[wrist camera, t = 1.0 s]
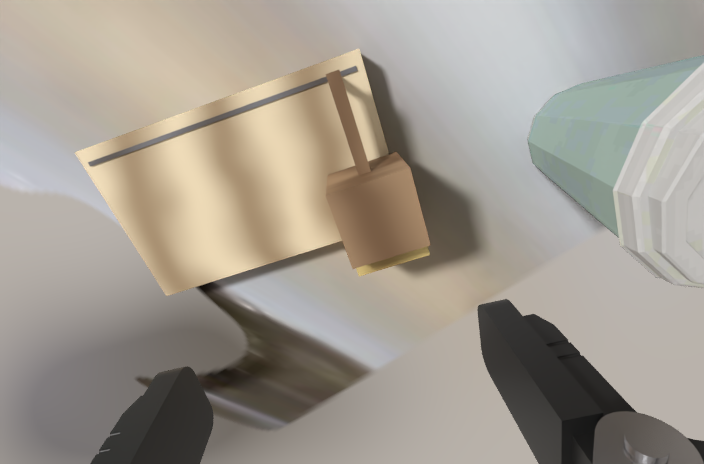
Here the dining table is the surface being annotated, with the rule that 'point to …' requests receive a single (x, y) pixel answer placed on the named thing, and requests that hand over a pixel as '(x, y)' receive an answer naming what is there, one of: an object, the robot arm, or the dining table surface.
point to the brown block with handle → (374, 201)
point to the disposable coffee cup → (634, 161)
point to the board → (236, 175)
